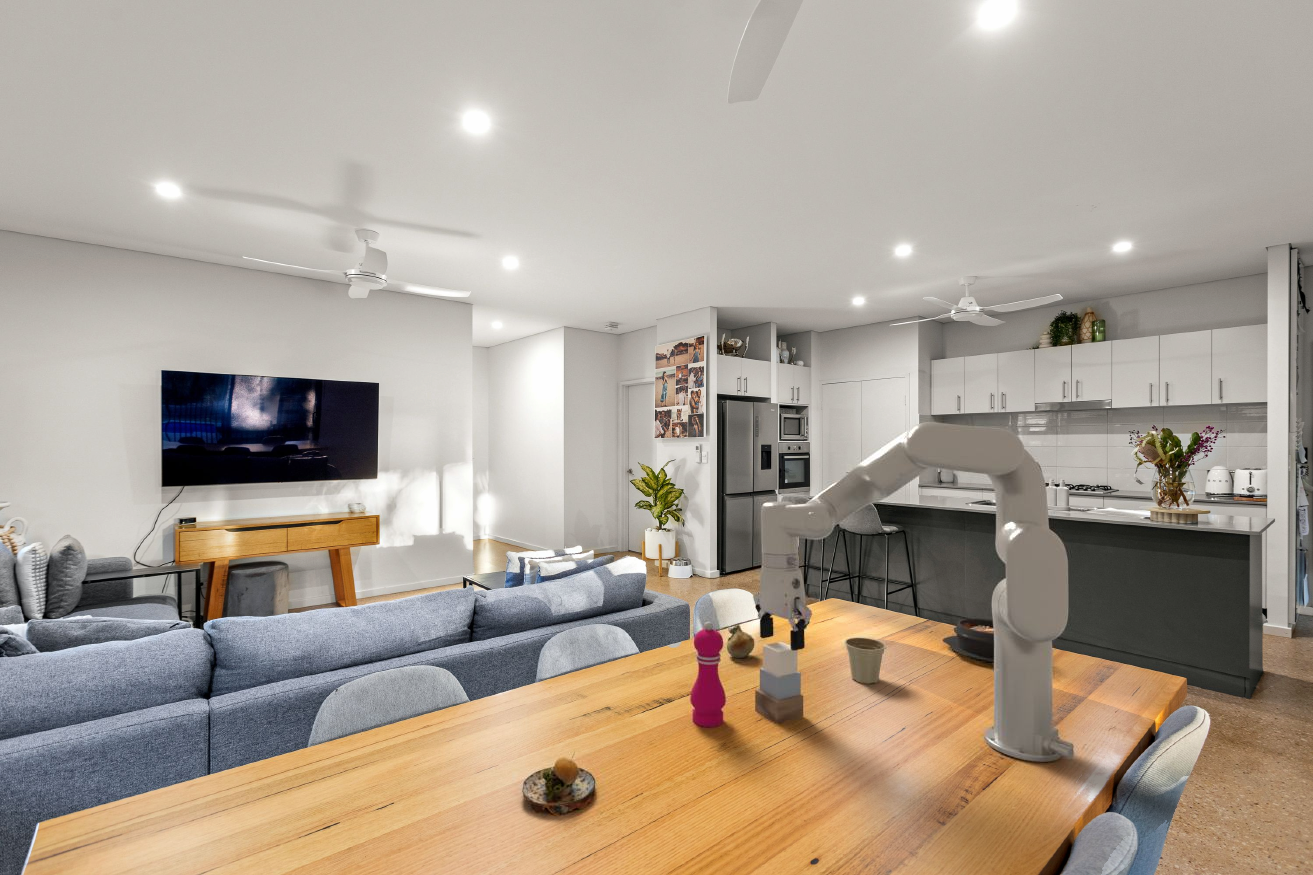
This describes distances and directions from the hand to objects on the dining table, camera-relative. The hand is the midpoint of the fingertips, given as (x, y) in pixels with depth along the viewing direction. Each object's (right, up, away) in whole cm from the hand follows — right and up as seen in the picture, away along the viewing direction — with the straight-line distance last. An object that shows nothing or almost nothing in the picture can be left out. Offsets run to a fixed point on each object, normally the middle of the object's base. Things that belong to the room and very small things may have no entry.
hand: (781, 642), depth 132 cm
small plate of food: (-42, -15, -31) cm, 54 cm away
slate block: (0, -10, 0) cm, 10 cm away
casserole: (+62, -16, +37) cm, 74 cm away
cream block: (0, -6, 0) cm, 6 cm away
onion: (-4, -15, +35) cm, 38 cm away
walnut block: (-1, -15, 0) cm, 15 cm away
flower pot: (+24, -15, +20) cm, 34 cm away
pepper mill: (-16, -15, -4) cm, 22 cm away
